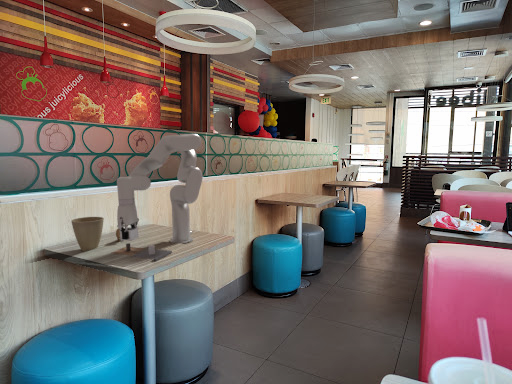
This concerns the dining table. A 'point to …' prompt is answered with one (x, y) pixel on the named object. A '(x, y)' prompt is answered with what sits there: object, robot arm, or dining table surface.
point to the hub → (152, 253)
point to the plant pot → (88, 231)
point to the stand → (128, 250)
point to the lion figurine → (118, 234)
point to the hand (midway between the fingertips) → (129, 237)
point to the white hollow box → (131, 234)
